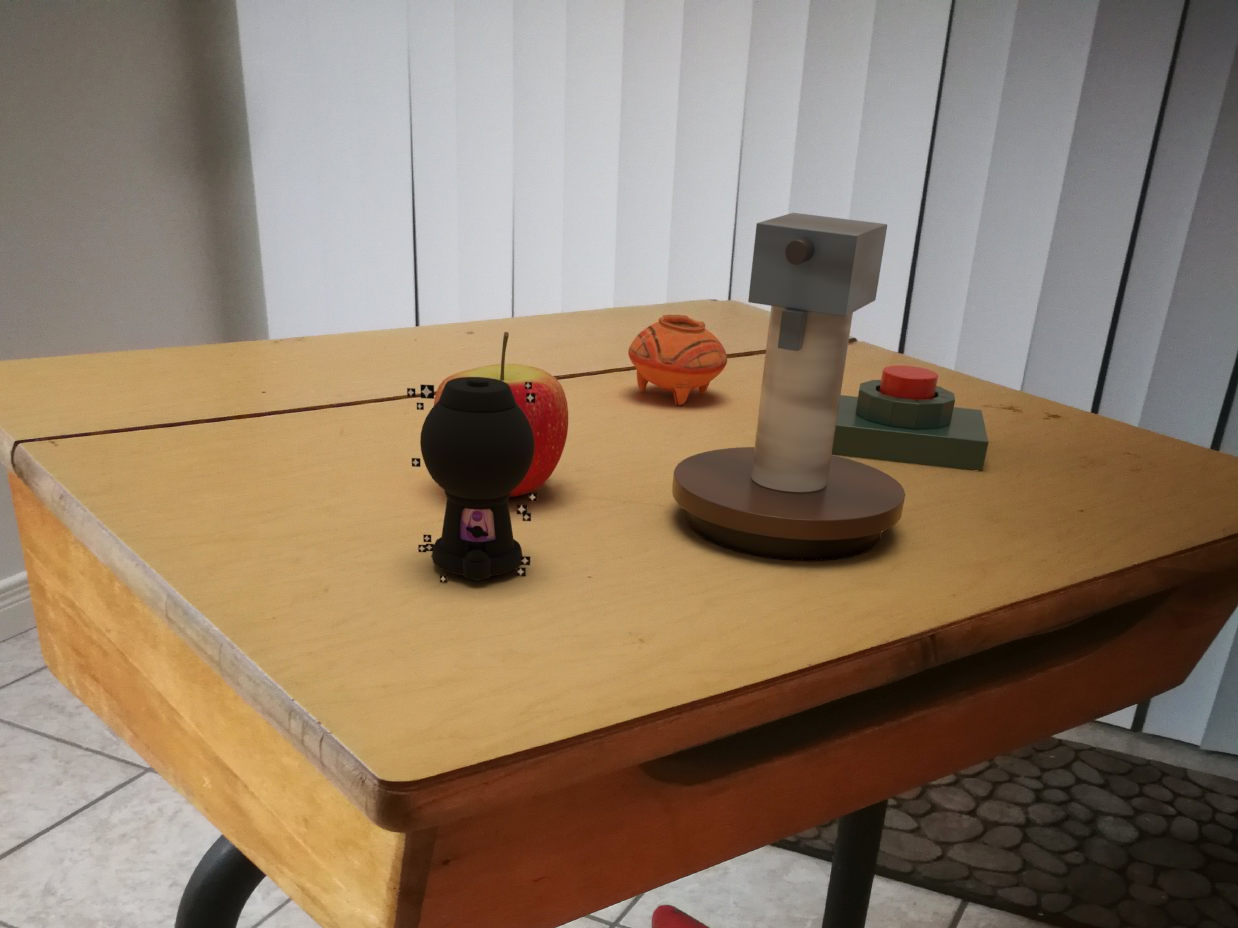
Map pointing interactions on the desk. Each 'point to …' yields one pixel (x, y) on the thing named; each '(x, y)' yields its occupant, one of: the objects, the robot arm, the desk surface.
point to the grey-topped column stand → (800, 394)
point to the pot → (677, 356)
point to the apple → (531, 413)
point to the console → (910, 429)
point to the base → (781, 543)
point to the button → (908, 382)
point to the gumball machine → (477, 473)
